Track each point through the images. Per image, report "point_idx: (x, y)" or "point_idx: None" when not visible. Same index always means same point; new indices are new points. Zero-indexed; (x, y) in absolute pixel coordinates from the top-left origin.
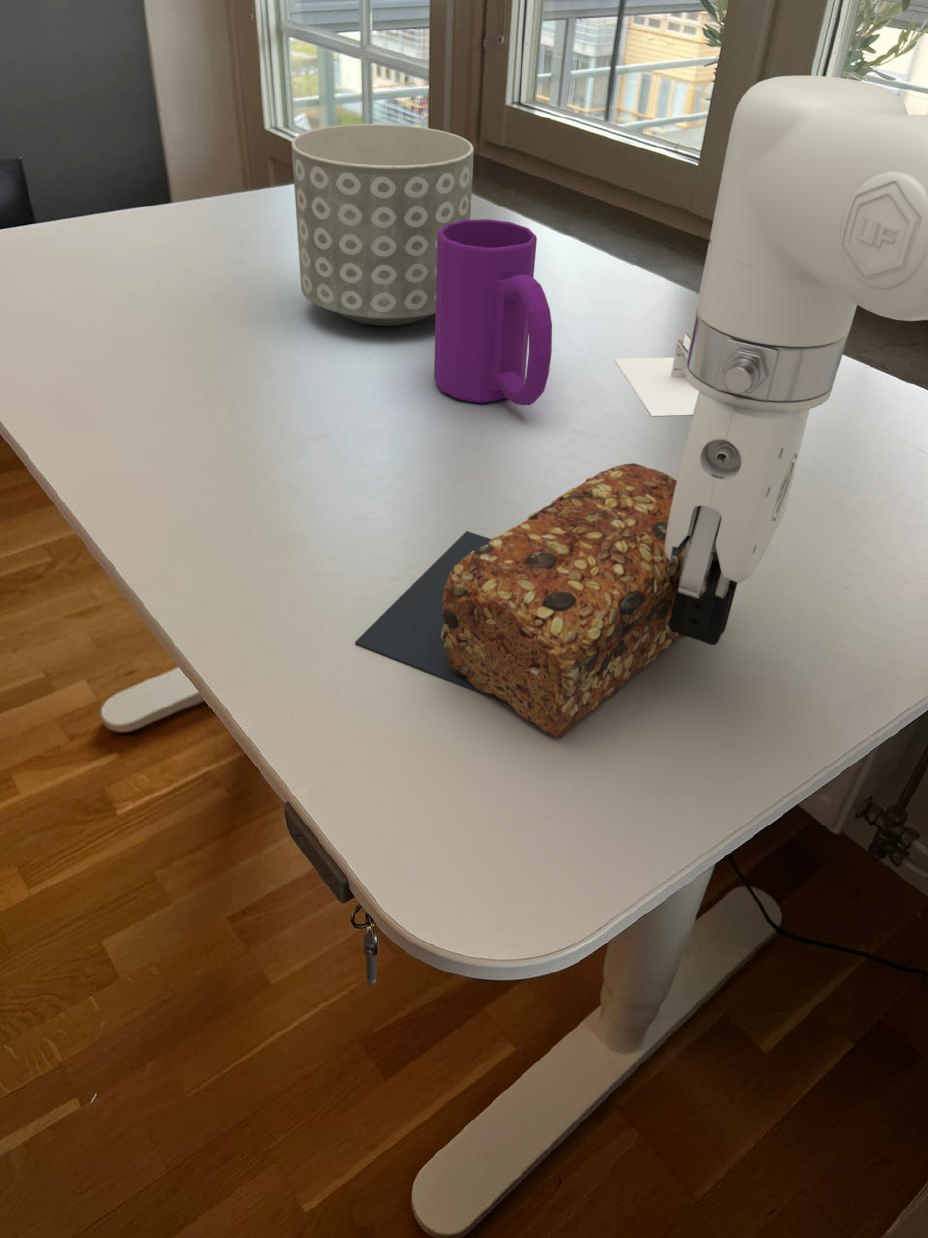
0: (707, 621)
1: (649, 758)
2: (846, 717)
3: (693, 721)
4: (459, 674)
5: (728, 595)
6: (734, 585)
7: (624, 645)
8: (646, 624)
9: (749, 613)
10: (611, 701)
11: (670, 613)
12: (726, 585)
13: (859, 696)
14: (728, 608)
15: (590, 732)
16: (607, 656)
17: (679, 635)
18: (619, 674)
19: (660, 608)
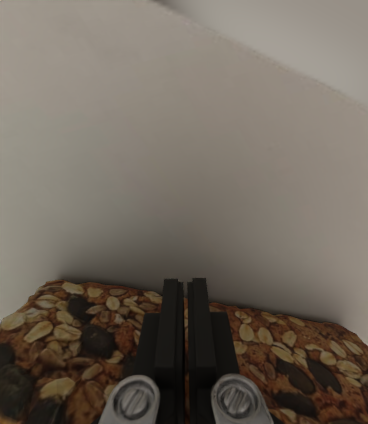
0: (231, 332)
1: (329, 245)
2: (132, 45)
3: (249, 225)
4: None
5: (216, 367)
6: (173, 369)
7: (281, 372)
8: None
9: (7, 229)
10: (259, 303)
11: None
12: (258, 421)
13: (72, 38)
14: (175, 318)
15: (314, 303)
16: (335, 388)
17: (125, 289)
18: (261, 328)
19: None
